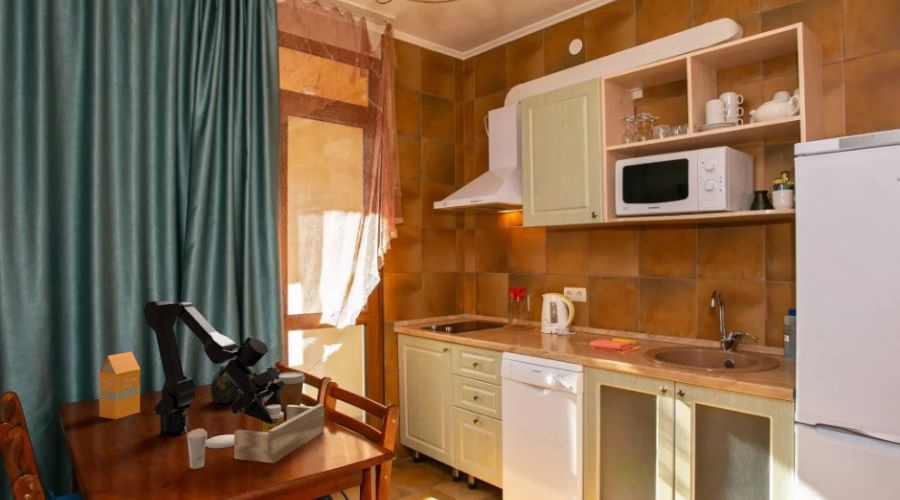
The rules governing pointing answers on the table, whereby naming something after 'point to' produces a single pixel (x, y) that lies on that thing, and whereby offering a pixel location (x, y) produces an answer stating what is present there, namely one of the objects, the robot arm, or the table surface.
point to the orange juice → (119, 386)
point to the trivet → (220, 441)
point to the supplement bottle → (273, 417)
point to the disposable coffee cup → (291, 389)
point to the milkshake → (196, 447)
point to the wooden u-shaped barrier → (280, 435)
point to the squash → (223, 389)
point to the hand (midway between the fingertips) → (277, 419)
